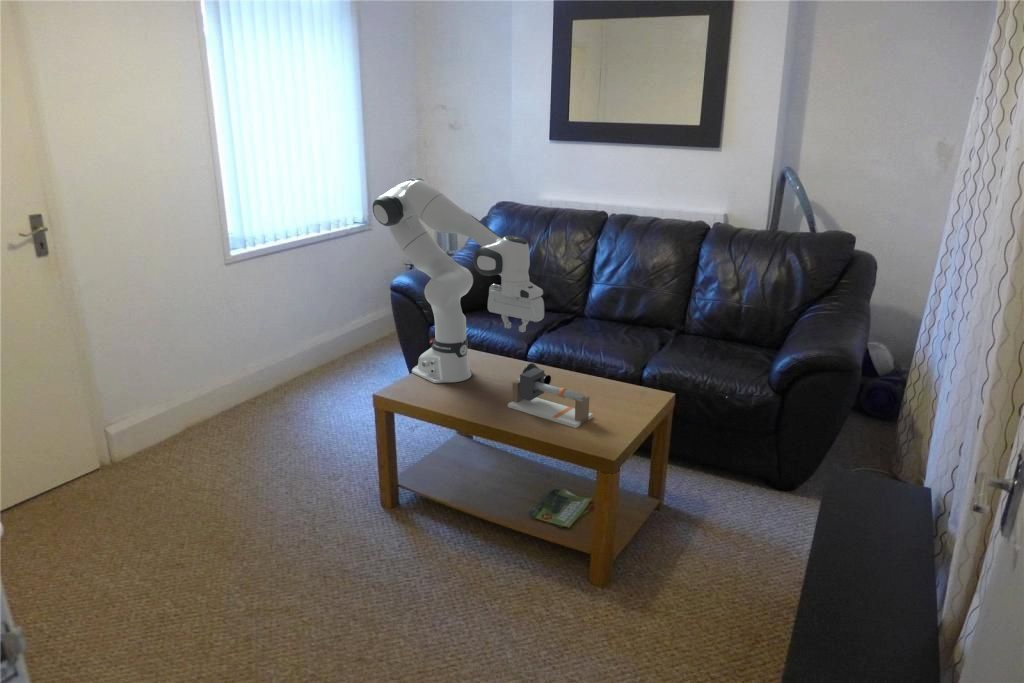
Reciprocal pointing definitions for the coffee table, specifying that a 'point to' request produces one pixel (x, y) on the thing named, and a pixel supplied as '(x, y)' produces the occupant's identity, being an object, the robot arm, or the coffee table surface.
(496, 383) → the coffee table surface
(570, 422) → the rail
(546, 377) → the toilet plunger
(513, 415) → the coffee table surface
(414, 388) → the coffee table surface
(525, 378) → the collar
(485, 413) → the coffee table surface
